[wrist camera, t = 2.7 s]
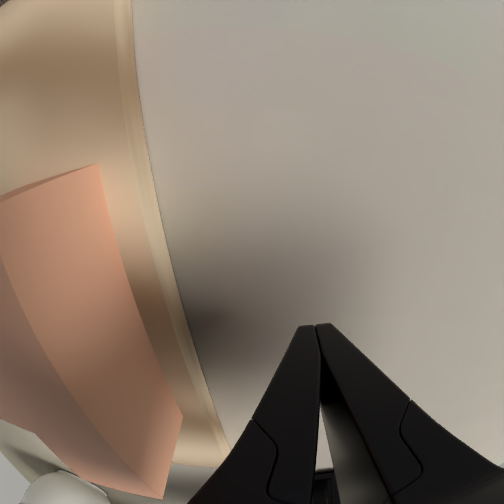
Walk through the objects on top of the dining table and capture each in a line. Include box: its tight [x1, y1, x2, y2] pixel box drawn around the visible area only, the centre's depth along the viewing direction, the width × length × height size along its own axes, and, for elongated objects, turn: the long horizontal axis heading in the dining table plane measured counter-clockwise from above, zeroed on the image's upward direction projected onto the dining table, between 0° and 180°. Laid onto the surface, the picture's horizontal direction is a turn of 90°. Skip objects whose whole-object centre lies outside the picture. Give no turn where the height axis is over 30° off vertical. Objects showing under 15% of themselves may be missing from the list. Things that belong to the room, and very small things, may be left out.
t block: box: [0, 163, 183, 500], centre depth 8 cm, size 10×9×4 cm
